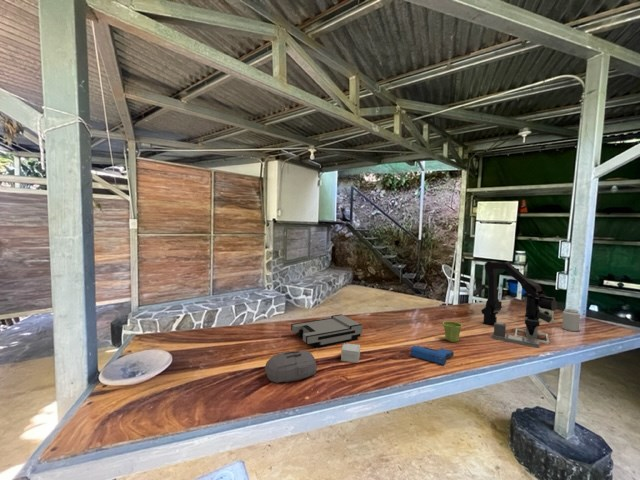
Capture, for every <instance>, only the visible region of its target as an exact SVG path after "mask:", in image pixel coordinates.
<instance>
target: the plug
mask: <svg viewBox="0 0 640 480" xmlns="http://www.w3.org/2000/svg"><path fill="white" fill-rule="evenodd" d="M525 330H526V332H525V337H528V338H533V339H538V334H537V332H538V326H537V327H535V330H534V333H533V336H532V335H530V333H529V331H528V329H527V326H526V325H525Z"/></svg>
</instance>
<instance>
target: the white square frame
mask: <svg viewBox="0 0 640 480" xmlns="http://www.w3.org/2000/svg"><path fill="white" fill-rule="evenodd" d="M518 332H523V333H526V329H521V328H515V332H514V335H516V336H519V337H524V338H529V339H530V337H526V336H522V335H518ZM538 335H540V336H544V337H545V339H546V340H544V339H543V340H542V339H538V338H537V339H535V338H531V339H535V340H539V343H543V344H548V345H549V344H550V339H549V335H548V333H544V332H539V331H537V336H538Z"/></svg>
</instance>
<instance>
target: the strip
mask: <svg viewBox="0 0 640 480" xmlns="http://www.w3.org/2000/svg"><path fill="white" fill-rule="evenodd" d="M519 336H520V335H518V336H516V335H515V334H513V335H512V334H509V333H508V334H507V333H505V337H501V336H496V335H494V332H493V334H492V337H491V338H492V339H494V340H499V341H503V342H508V343H512V344H517V345H522V346H527V347H533V348H538V349H540V342H539V340H540V339H538V340H535V338H533V339H531V338H530V337H528V338H524V337H525V336H523V337H519ZM529 338H530V339H529Z"/></svg>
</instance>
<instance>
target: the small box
mask: <svg viewBox="0 0 640 480" xmlns="http://www.w3.org/2000/svg"><path fill="white" fill-rule="evenodd" d="M342 344H343V345H342V346H341V352H340V356H341V357H340V358H341V359H340V361H341V362H349V363H356V364H357V363H358V364H359V362H360V361H359V360H360V357H361V355H360V354H361V345H360V344H353V343H348V342H345V343H342Z"/></svg>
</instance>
